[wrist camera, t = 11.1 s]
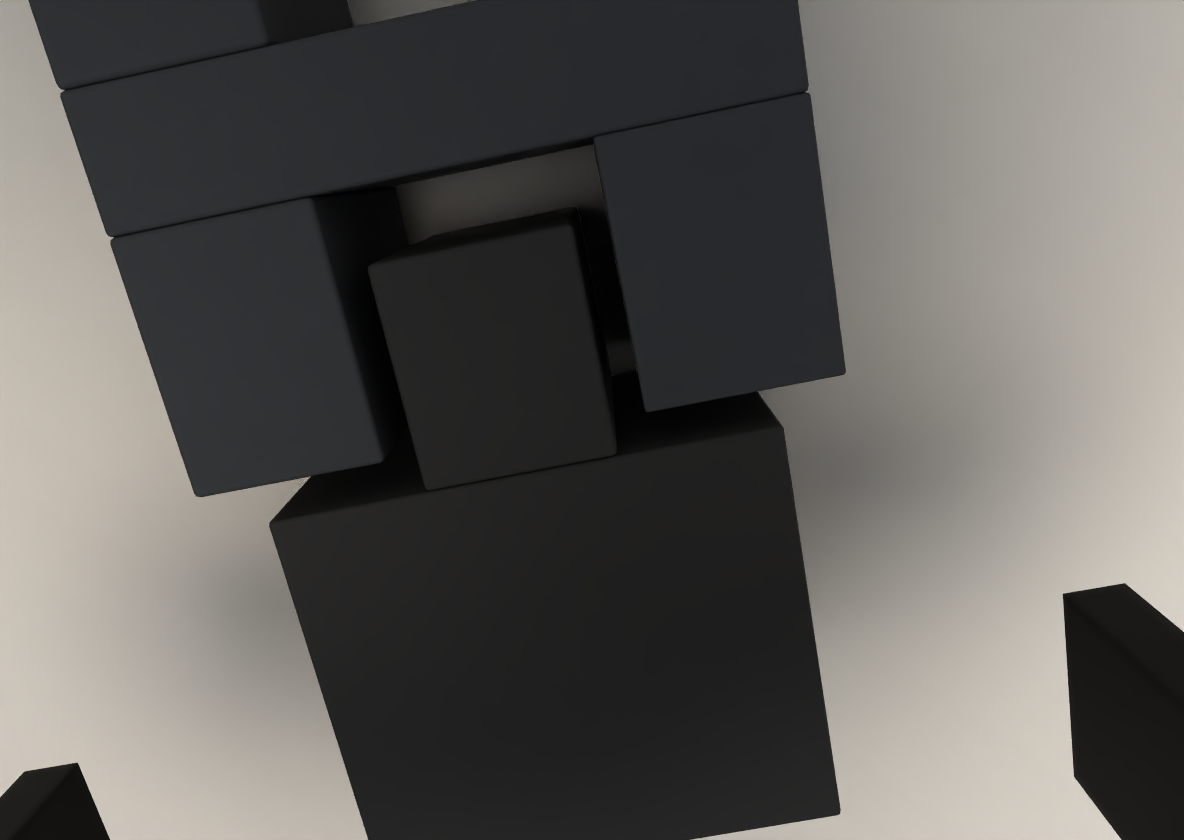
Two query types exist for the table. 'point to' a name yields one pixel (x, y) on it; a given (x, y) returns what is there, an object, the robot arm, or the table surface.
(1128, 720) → the robot arm
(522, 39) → the pad
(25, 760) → the table surface
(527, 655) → the pad
